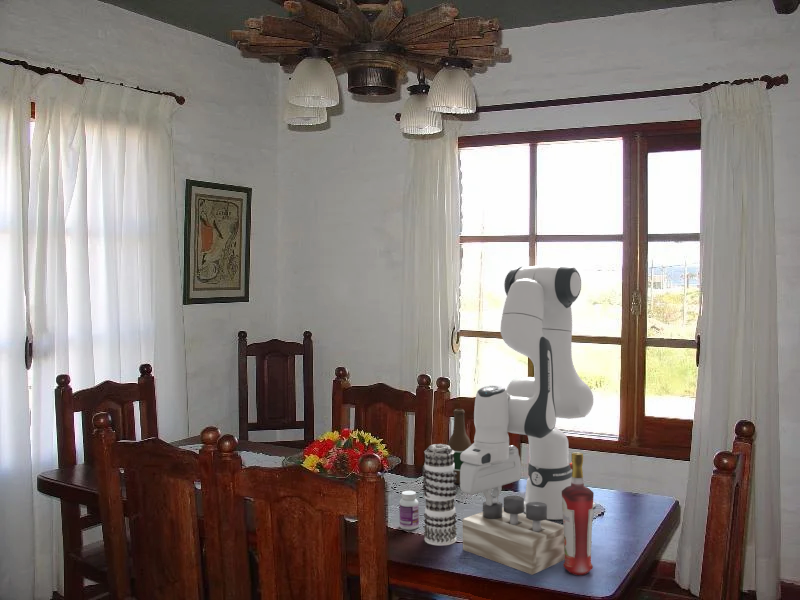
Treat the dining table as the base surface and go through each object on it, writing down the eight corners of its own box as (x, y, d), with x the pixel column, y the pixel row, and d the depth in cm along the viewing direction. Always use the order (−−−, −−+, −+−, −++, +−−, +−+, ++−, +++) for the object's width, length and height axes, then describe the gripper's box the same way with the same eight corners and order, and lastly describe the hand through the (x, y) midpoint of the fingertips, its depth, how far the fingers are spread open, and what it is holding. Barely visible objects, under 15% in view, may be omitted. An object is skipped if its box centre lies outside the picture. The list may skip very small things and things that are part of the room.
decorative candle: (415, 539, 204) (414, 445, 203) (442, 531, 210) (441, 440, 208) (438, 549, 197) (436, 452, 195) (465, 540, 202) (463, 446, 201)
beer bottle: (472, 484, 253) (471, 411, 251) (449, 484, 253) (447, 412, 251) (470, 477, 260) (469, 407, 259) (447, 477, 260) (446, 407, 259)
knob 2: (512, 525, 196) (512, 494, 195) (528, 530, 192) (528, 498, 192) (499, 530, 192) (499, 498, 192) (515, 535, 189) (515, 503, 188)
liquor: (558, 565, 185) (557, 450, 183) (588, 564, 185) (588, 449, 184) (566, 578, 177) (566, 458, 176) (598, 577, 178) (597, 457, 176)
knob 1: (491, 530, 201) (491, 499, 201) (506, 534, 197) (506, 504, 197) (479, 534, 198) (478, 504, 197) (493, 539, 194) (493, 508, 194)
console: (498, 535, 205) (498, 506, 205) (567, 558, 189) (567, 526, 189) (462, 549, 196) (462, 518, 195) (532, 574, 180) (532, 541, 179)
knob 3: (534, 532, 191) (534, 500, 190) (551, 537, 187) (551, 505, 186) (522, 537, 187) (521, 505, 187) (538, 542, 184) (538, 509, 183)
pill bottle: (417, 530, 210) (416, 496, 210) (398, 529, 211) (397, 495, 211) (420, 524, 216) (419, 490, 215) (401, 523, 217) (401, 489, 216)
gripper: (508, 441, 206) (508, 493, 206) (455, 455, 192) (456, 510, 193) (527, 445, 201) (527, 498, 202) (474, 460, 187) (474, 516, 188)
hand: (492, 504), depth 197 cm, fingers closed, pressing on knob 1
